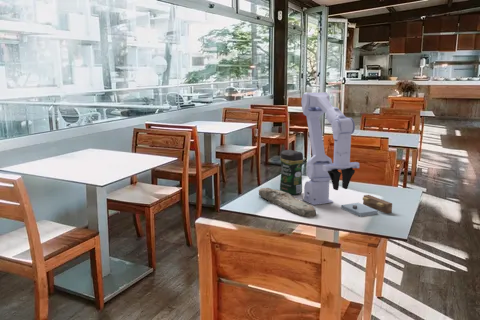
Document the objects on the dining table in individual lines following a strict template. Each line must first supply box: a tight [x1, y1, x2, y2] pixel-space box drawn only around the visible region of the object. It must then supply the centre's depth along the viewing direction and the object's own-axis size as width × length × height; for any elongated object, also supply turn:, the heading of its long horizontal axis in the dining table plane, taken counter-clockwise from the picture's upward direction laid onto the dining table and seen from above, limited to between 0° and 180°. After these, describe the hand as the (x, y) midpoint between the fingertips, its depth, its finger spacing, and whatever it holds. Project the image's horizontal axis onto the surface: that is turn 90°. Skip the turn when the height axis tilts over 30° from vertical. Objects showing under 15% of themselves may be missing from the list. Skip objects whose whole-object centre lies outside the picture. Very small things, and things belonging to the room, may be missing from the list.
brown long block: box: [362, 194, 393, 214], centre depth 165 cm, size 4×13×4 cm, turn 23°
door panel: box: [341, 202, 379, 217], centre depth 162 cm, size 8×11×3 cm
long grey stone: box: [258, 187, 317, 218], centre depth 170 cm, size 35×5×10 cm
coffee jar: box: [279, 149, 304, 196], centre depth 186 cm, size 10×8×19 cm
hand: (340, 188), depth 157 cm, fingers open, 3 cm apart
